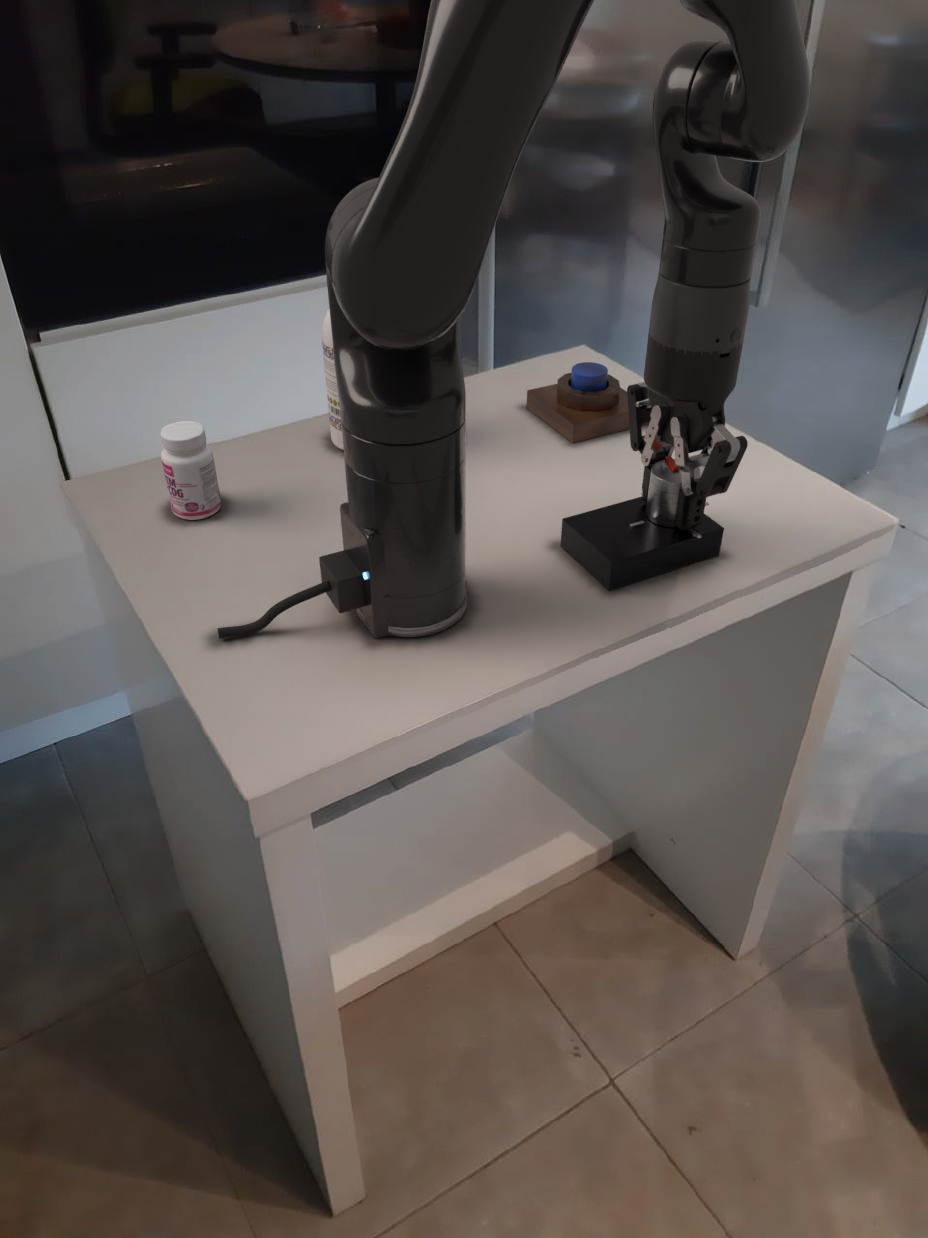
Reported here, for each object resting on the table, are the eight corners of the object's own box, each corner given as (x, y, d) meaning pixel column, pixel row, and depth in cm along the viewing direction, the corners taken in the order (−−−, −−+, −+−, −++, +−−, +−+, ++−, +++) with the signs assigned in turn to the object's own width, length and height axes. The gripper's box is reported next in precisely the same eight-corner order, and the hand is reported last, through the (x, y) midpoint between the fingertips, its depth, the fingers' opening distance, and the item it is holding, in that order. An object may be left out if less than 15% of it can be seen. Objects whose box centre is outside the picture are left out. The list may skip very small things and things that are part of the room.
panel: (610, 593, 84) (614, 562, 82) (558, 544, 90) (560, 515, 89) (732, 554, 89) (738, 524, 87) (675, 510, 95) (679, 482, 93)
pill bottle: (162, 516, 94) (145, 437, 89) (188, 493, 98) (173, 415, 93) (206, 524, 93) (191, 444, 88) (230, 500, 97) (217, 422, 92)
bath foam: (376, 460, 104) (365, 268, 91) (319, 448, 106) (300, 259, 94) (405, 432, 109) (398, 247, 97) (350, 421, 111) (336, 239, 99)
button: (583, 396, 108) (584, 378, 106) (563, 383, 111) (564, 365, 109) (613, 389, 109) (615, 372, 108) (593, 376, 112) (595, 359, 111)
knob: (702, 524, 87) (710, 477, 85) (655, 530, 87) (662, 482, 84) (683, 500, 91) (691, 453, 88) (638, 505, 90) (644, 458, 87)
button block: (572, 443, 107) (574, 409, 104) (526, 407, 114) (527, 375, 111) (647, 424, 110) (651, 391, 108) (598, 391, 117) (601, 359, 115)
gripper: (607, 309, 82) (592, 488, 92) (715, 370, 72) (684, 564, 82) (680, 295, 85) (657, 471, 95) (794, 352, 75) (754, 541, 85)
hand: (670, 513), depth 89 cm, fingers closed on knob, 4 cm apart
